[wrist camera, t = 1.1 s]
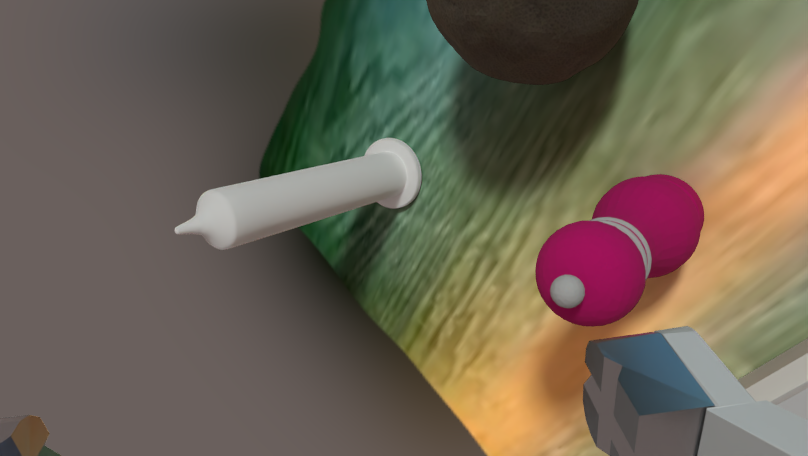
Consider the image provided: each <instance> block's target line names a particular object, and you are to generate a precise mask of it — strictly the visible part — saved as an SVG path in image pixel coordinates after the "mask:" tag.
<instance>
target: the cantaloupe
mask: <svg viewBox="0 0 808 456" xmlns="http://www.w3.org/2000/svg"><path fill="white" fill-rule="evenodd" d="M426 1H427V5H428V9H429V12H430V15H431V17H432V20H433V21H434V23H435V25H436V26H437V28H438V30H439V31H440V33H441V34H442V35H443V36H444V38H445V39H446V40H447V42H448V43H449V44H450V45H451V46H452V47H453V48H454V49H455V51H456V52H457V53H458V54H459V55H460V56H461V57H462V58H463V59H464V60H465V61H466V62H467V63H468V64H469V65H470V66H471V67H473V68H474V69H476V70H477V71H479V72H481V73H483V74H485V75H488V76H490V77H493V78H496V79H499V80H504V81H509V82H513V83H522V84H533V85H544V84H552V83H557V82H561V81H564V80H566V79H568V78H570V77H572V76H573V75H575V74H577V73H578V72H580V71H581V70H583V69H585V68H587V67H589V66H591V65H593V64H595V63H596V62H598V61H599V60H601V59H602V58H603V57H604V56H605V55H606V54H607V53H608V52H609V51H610V50H611V49H612V47H613V46H614V45H615V44H616V43H617V41H618V40H619V39H620V37H621V36H622V35H623V33H624V31H625V30H626V28H627V26H628V24H629V22H630V20H631V18H632V16H633V14H634V11H635V9H636V7H637V4H638V0H426Z"/></svg>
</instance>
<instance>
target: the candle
mask: <svg viewBox="0 0 808 456" xmlns="http://www.w3.org/2000/svg"><path fill="white" fill-rule="evenodd" d="M421 181H422V173H421V167H420V163H419V161H418V158H417V156H416V154H415V153H414V151H413V150H412V149H411V148H410V147H409V146H408V145H407V144H406V143H404V142H403V141H401V140H399V139H395V138H384V139H380V140H378V141H376V142H374V143H373V144H372V145H371V146H370V147H369V148H368V150H367V151H366V153H365V156H363V157H358V158H354V159H349V160H344V161H340V162H335V163H331V164H326V165H321V166H317V167H312V168H308V169H303V170H299V171H294V172H289V173H285V174H280V175H276V176H271V177H266V178H262V179H257V180H253V181H248V182H243V183H239V184H234V185H230V186H225V187H221V188H216V189H211V190H208V191H206V192H204V193H203V194H202V195H201V197H200V199H199V200H198V203H197V208H196V215H195V216H194V217H193V218H192V219H190V220H188V221H186V222H185V223H183V224H181V225H179V226H177V227H176V228H175V233H177V234H199V235H202V236H203V237H204V238H205V240H206V241H207V242H208V243H209V244H210V245H211V246H213V247H215V248H217V249H220V250H226V249H230V248H232V247H236V246H239V245H242V244H245V243H248V242H252V241H255V240H258V239H261V238H264V237H267V236H271V235H273V234H277V233H280V232H283V231H286V230H289V229H293V228H296V227H299V226H302V225H305V224H308V223H311V222H315V221H318V220H321V219H324V218H327V217H330V216H333V215H337V214H340V213H343V212H346V211H349V210H352V209H355V208H359V207H362V206H365V205H368V204H371V203H374V202H377V203H379V204H380V205H382V206H384V207H387V208H393V209H396V208H401V207H404V206H406V205H408V204H410V203H411V202H412V201H413V200H414V199H415V198H416V196H417V194H418V192H419V190H420V187H421Z"/></svg>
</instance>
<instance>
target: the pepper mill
mask: <svg viewBox="0 0 808 456" xmlns="http://www.w3.org/2000/svg"><path fill="white" fill-rule="evenodd" d="M703 222H704V210H703V206H702V202H701V200H700V198H699V196H698V195H697V193H696V192H695V191H694V190H693V188H692V187H691V186H689V185H688V184H687V183H685V182H684V181H682V180H680V179H678V178H676V177H673V176H669V175H662V174H660V175H650V176H646V177H635V178H631V179H627V180H625V181H623V182H620V183H619V184H617V185H615V186H614V187H613V188H611V189H610V190H609V191H608V192H607V193H606V194H605V195H604V196H603V197H602V198H601V200H600V201H599V203H598V204H597V205H596V208H595V211H594V213H593V217H592V220H590V221H579V222H575V223H572V224H568V225H566V226H564V227H563V228H561V229H559V230H557V231H556V232H555V233H554V234H552V235H551V236H550V237H549V238H548V240H547V241H546V242H545V243H544V245H543V246H542V248H541V250H540V252H539V255H538V258H537V263H536V282H537V286H538V289H539V292H540V294H541V297H542V298H543V300H544V301H545V303H546V304H547V306H548V307H549V308H550V309H551V310H552V311H553V312H554V313H555V314H557V315H558V316H560V317H561V318H563V319H564V320H567V321H569V322H571V323H574V324H577V325H581V326H603V325H606V324H610V323H612V322H615V321H617V320H619V319H621V318H622V317H624V316H625V315H627V314H628V313H629V312H630V311H631V310H632V309H633V308H634V307H635V305H636V304H637V303H638V301H639V299H640V298H641V295H642V293H643V290H644V288H645V281H646V279H647V278H653V277H659V276H663V275H666V274H668V273H670V272H673V271H674V270H676V269H677V268H679V267H680V266H681V265H683V264H684V263H685V262H686V261H687V260H688V259H689V258H690V257H691V255H692V254H693V252H694V251H695V249H696V247H697V245H698V241H699V237H700V232H701V229H702V226H703Z"/></svg>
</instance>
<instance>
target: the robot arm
mask: <svg viewBox="0 0 808 456" xmlns="http://www.w3.org/2000/svg"><path fill="white" fill-rule="evenodd" d="M585 363H586V365H587V366H588V368H589V370H590V372H591V374H592V375H591V376H590V377H589V379H588V380H587V381H586V382H585V383H584V386H583V404H584V411H585V417H586V421H587V424H588V427H589V430H590V433H591V436H592V438H593V440H594V442H595V444H596V447H598V448H599V449H601V450H602V451H604V452H605V453H607V454H608V455H610V456H808V420H806V419H804V418H802V417H800V416H798V415H796V414H794V413H792V412H790V411H787V410H785V409H783V408H781V407H779V406H777V405H775V404H773V403H771V402H769V401H767V400H765V401H757V402H756V401H755V400H754V399H753V398H752V396H751V395H750V394H749V393H748V392H747V391H746V389H745V388H744V387H743V386H742V385H741V383H740V382H739V381H738V380H737V379H736V378H735V376H734V375H733V374H732V373H731V372H730V371H729V369H728V368H727V367H726V366H725V365H724V363H723V362H722V361H721V360H720V359H719V358H718V356H717V355H716V354H715V353H714V352H713V351H712V349H711V348H710V347H709V346H708V345H707V343H706V342H705V341H704V340H703V339H702V338H701V336H700V335H699V334H698V333H697V332H696V331H695V330H694V329H692V328H690V327H688V326H685V327H678V328H672V329H665V330H659V331H655V332H649V333H642V334H635V335H628V336H621V337H613V338H606V339H599V340H592V341H589V343H588V345H587V348H586V356H585ZM48 436H49V432H48V431H47V428H46V427H45V425H44V423H43V422H42V420H41V419H40V417H36V416H31V415H25V416H17V417H8V418H0V456H61V455H59V454H57V453H56V452H54V451H53V450H51V449H49V448H47V447H46V446H44V445H45V443H46V440H47V438H48Z"/></svg>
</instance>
